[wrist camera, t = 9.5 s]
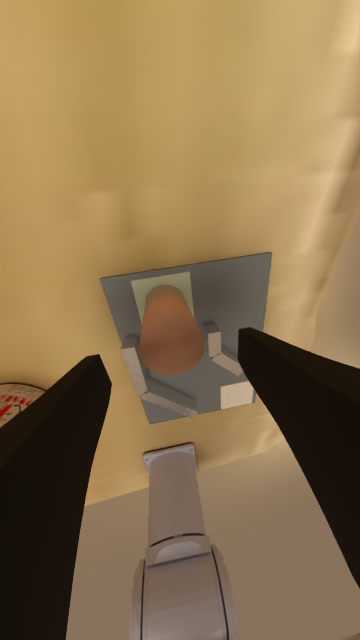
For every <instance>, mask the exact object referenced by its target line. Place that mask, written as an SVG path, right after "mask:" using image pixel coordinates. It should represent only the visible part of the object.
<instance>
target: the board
mask: <svg viewBox="0 0 360 640" xmlns="http://www.w3.org/2000/svg"><path fill="white" fill-rule="evenodd" d="M271 258H272V253H271V252H268V253H261V254H255V255H248V256H242V257H235V258H229V259H222V260H216V261H209V262H203V263H196V264H189V265H183V266H176V267H170V268H163V269H157V270H150V271H144V272H137V273H131V274H124V275H118V276H111V277H105V278H101V279H100V281H101V283H102V286H103V289H104V292H105V295H106V298H107V301H108V304H109V307H110V310H111V313H112V316H113V319H114V322H115V324H116V327H117V330H118V333H119V336H120V339H121V342H122V343H123V340H124V337H129V336H135V335H137V338H138V342H139V344H140V336H141V329H142V321H143V314H144V307H145V300H146V296H147V294H148V293H149V292H150V291H151V290H152V289H153V288H154V287H156V286H159V285H164V284H165V285H172V286H174V287H176V288H178V289H179V290H180V291H181V292H182V294H183V296H184V298H185V300H186V302H187V304H188V306H189V309H190V311H191V313H192V315H193V317H194V319H195V321H196V323H197V325H198V327H199V329H200V332H201V334H202V336H203V325H202V324H203V323H209V322H215V324H216V325H217V327H218V328H219V330H220V331H221V346H223V347H224V348H226V349H227V350H229V351H230V352H232V353H233V354H235V355H237V356H238V331H239V329H241V328H247V327H251V328H254V329H257V330H259V331H261V332H263V327H264V318H265V310H266V301H267V293H268V284H269V275H270V267H271ZM146 370H147V373H148V377H149V378H151V379H154V380H156V381H158V382H160V383H163V384H165V385H167V386H169V387H172V388H174V389H176V390H178V391H181V392H183V393H185V394H187V395H190V396H192V397H194V398H195V399H196V403H197V407H198V411H199V413H198V414H202V413H207V412H211V411H216V410H221V409H226V408H231V407H235V406H240V405H245V404H250V403H255V395H256V391H255V390H254V388H253V387H252V385H251V384H250V382H249V381H248V379H247V377H246V376H245V374H244V372H242V373H241V374H240V375H239V376H237V375H236V374H234V373H232V372H231V371H229V370H227V369H225V368H224V367H222V366H220V365H218V364H217V363H215V362H213V361H212V360H211V359H210V357H209V356H208V353H207V351H206V349H205V351H204V354H203V357H202V359H201V360H200V362H199V363H198V364H197V365H196V366H195V367H193V368H192V369H191V370H189V371H187V372H185V373H182V374H178V375H171V376H168V375H160V374H157V373H154V372H152V371H151V370H149V369H148V368H147V367H146ZM141 401H142V404H143V406H144V409H145V412H146V415H147V418H148V421H149V424H154V423H159V422H163V421H168V420H173V419H178V418H183V417H187V416H185V415H182V414H180V413H177V412H175V411H172V410H169V409H167V408H164V407H162V406H159V405H156V404H154V403H151V402H149V401H146V400H143V399H141ZM196 415H197V414H196Z"/></svg>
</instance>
